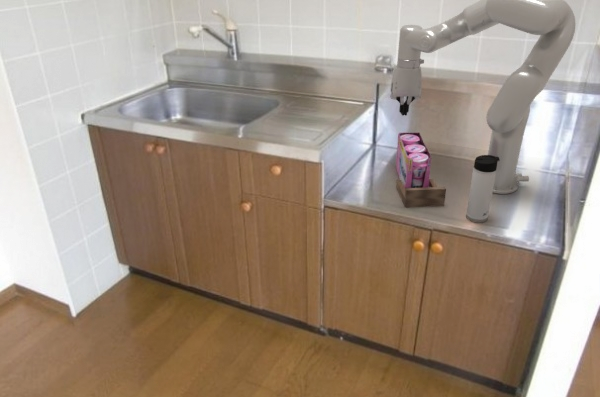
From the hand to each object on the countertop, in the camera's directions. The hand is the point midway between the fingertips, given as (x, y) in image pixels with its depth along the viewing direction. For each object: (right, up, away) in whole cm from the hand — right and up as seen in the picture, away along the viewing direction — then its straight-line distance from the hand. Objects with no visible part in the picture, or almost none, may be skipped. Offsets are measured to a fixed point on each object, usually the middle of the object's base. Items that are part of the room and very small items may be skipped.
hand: (403, 114), depth 179 cm
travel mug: (+16, -37, -29) cm, 49 cm away
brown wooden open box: (+2, -30, -16) cm, 34 cm away
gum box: (+1, -24, -6) cm, 25 cm away
